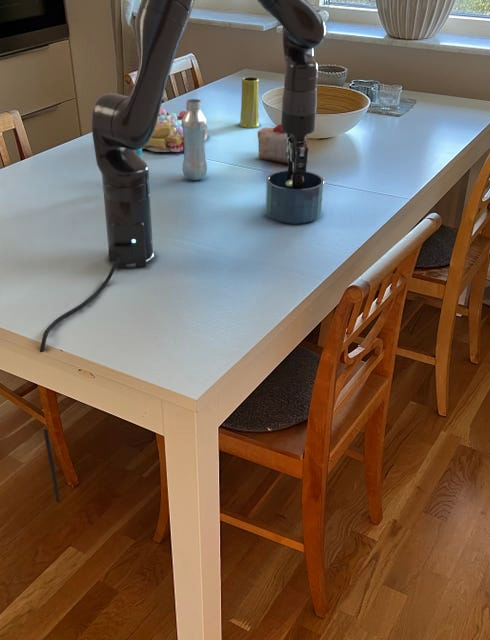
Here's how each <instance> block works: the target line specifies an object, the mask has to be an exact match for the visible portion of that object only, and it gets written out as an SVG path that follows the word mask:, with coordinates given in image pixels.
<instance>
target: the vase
mask: <svg viewBox="0 0 490 640" xmlns="http://www.w3.org/2000/svg"><path fill="white" fill-rule="evenodd" d="M259 82H260V79H259V78H258V77H256V76H244V77H243V78H241V98H240V99H241V100H240V103H241V104H240V116H239V117H240V118H239V119H240V121H239V126H240V127H241V128H246V129H253V128H258V127H259V126H260V123H259V122H260V121H259V117H260V116H259V113H260V111H259V110H260V109H259V104H260V103H259V99H260V98H259V93H260V92H259V86H260V84H259Z"/></svg>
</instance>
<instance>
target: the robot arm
mask: <svg viewBox="0 0 490 640" xmlns="http://www.w3.org/2000/svg"><path fill="white" fill-rule="evenodd" d="M256 1H257V2H258V3H259V5H260V6H261V7H262V9H264V10H265V11H266V12H267V13H268V15H270V16H271V17H273V18H274V19H275V20H277V22H279V24H280V25H281V26H282V33H281V34H282V37H281V38H282V49H283V57H284V64H285V66H284V67H285V68H284V84H283V94H282V98H281V99H282V101H281V119H280V120H281V121H280V122H281V123H280V125H281V130H282V131H283V132H285V133H287V150H286V156H288V158H287V160H288V164H287V170H288V175H287V176H288V178H291V176H292V175H293V179H292V187H293V188H294V189H300V188H302V181H303V173H306V171H307V165H308V164H307V163H308V156H309V155H308V153H309V147H308V141H305V135H307V136H308V135H311V134H312V133H314V132H315V130H316V119H317V106H318V105H317V103H318V94H317V90H318V89H317V88H318V87H317V86H318V74H319V67H318V63H317V60H316V59H315V57H314V49H315V48H317V47H318V46H320V45H321V44H322V43H323V41H324V39H325V36H326V25H325V22H324V19H323V18H322V16H321V15H320V13H319V12H318V11H317V10H316V9H315V8H314V7H313V6H312V4H311V3H309V2H308V1H307V0H256ZM195 2H196V0H140V3H139V6H138V9H137V11H136V15H135V19H134V35H135V42H136V44H135V45H136V50H137V58H138V65H137V66H138V67H137V72H136V75H135V76H136V77H135V81H134V84H133V86H132V89H131V92H130V94H129V95H123V94H120V93H115V92H108V93H104V94H102V95H101V96H99V97H98V98H97V100H96V101H95V103H94V105H93V107H92V112H91V121H90V122H91V132H92V134H91V135H92V141H93V147H94V154H95V155H94V156H95V163H96V165H97V168H98V170H99V171H100V174H101V180H102V190H103V191H102V192H103V203H104V214H105V215H104V217H105V225H106V238H107V247H108V261H109V263H111V264H112V266H111V269H110V271H109V273H108V275H107V276H106V278H105V280H104V281H103V283H102V284H101V285H100V287H99V288H98V289H97V290H96V291H95V292H94V293H93V294H92V295H91V296H90V297H87V298H86V299H85V300H84V301H83V302H81V303H80V304H79V305H77V306H76V307H74V308H72V309H70V310H69V311H66V312H64V313H63V314H61V315H59V317H57V318H56V319H55V320H53V322H51V324H49V326H47V328H46V329H45V330H44V332H43V335H42V339H41V344H40V348H39V353H44V352H45V348H46V343H47V339H48V335H49V333H50V332H51V331H52V330H53V328H55V326H57V324H59V323H60V322H61V321H63V320H64V319H65V318H68V317H69V316H71V315H73V314H75V313H76V312H78V311H80V310H81V309H83V308H84V307H86V306H87V305H88V304H89V303H91V302H92V301H93V300H94V299H95V298H96V297H98V296H99V294H100V293H101V292H102V291H103V289H105V288H106V286H107V285H108V283H109V282H110V281H111V278H112V276H113V275H114V273H115V271H116V269H124V268H125V269H126V268H128V269H129V268H146V267H147V265H148V264H150V263H151V262H152V261H153V260H154V257H155V253H154V244H153V226H152V225H153V224H152V208H151V206H152V205H151V188H150V171H149V166H148V163H146V161H145V160H144V159H143V158H142V159H141V158H140V157H139V156H138V155H137V154H136V152H135V151H134V150H139V149H141V148H143V147H144V146H145V145H146V144H147V143H148V142H149V140H150V139H151V137H152V135H153V132H154V130H155V127H156V123H157V119H158V116H159V112H160V109H161V106H162V103H163V99H164V95H165V91H166V88H167V83H168V80H169V76H170V73H171V70H172V67H173V64H174V61H175V58H176V56H177V52H178V49H179V46H180V44H181V41H182V39H183V36H184V34H185V31H186V28H187V25H188V22H189V20H190V16H191V14H192V11H193V7H194V5H195ZM299 163H301V164H300V166H299V165H298V164H299ZM43 434H44V441H45V446H46V451H47V452H46V453H47V457H48V463H49V467H50V472H51V478H52V484H53V490H54V496H55V502H56V503H61V500H60V498H61V497H60V493H59V485H58V480H57V474H56V469H55V463H54V458H53V452H52V446H51V442H50V435H49V430H48V429H43Z"/></svg>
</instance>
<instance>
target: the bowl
mask: <svg viewBox="0 0 490 640" xmlns="http://www.w3.org/2000/svg"><path fill="white" fill-rule="evenodd" d="M287 175H288V169H286V170H279V171H274V172H272V173H271V174H269V175H268V176H267V177H266V180H265V181H266V183H265V187H266V188H265V208H264V210H265V214H266V215H267V216H268V217H269V218H271V219H273V220H275V221H277V222H280V223H284V224H294V225H295V224H296V225H297V224H306V223H307V224H308V223H310V222H312V221H315V220H317V219H318V218H320V217H321V215H322V214H323V213H322V212H323V201H324V189H325V179H324V177H322V176H321V175H319V174H318V173H316V172H315V173H314V172H313V171H307V170H306V173H303V177H304V182H303V183H302V188H300V189H294V188H293V189H290V188H288V187H287V186H286V184H285V183H286V181H288V180H291V178H288V176H287Z"/></svg>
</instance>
